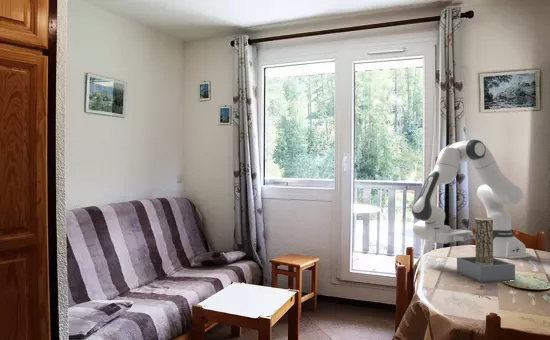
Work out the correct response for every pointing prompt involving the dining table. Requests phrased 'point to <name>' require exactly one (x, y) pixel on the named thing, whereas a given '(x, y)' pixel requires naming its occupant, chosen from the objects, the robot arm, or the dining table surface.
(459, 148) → the robot arm
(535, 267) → the dining table surface
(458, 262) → the box
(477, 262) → the wooden log
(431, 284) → the dining table surface
